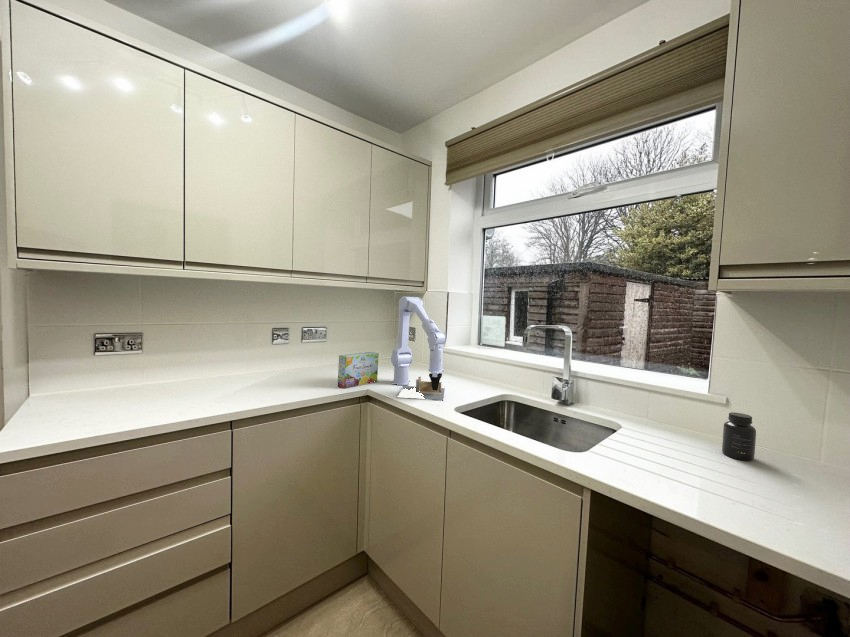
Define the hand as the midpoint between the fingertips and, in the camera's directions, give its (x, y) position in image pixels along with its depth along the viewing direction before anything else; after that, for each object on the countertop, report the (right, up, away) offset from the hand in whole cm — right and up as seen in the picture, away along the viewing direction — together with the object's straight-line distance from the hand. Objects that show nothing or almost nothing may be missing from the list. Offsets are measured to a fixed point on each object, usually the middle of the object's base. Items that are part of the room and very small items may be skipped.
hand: (435, 390), depth 149 cm
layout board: (-7, -2, +4) cm, 8 cm away
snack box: (-37, -1, +16) cm, 40 cm away
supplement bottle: (+84, -8, -53) cm, 100 cm away
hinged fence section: (-2, -1, +3) cm, 4 cm away
